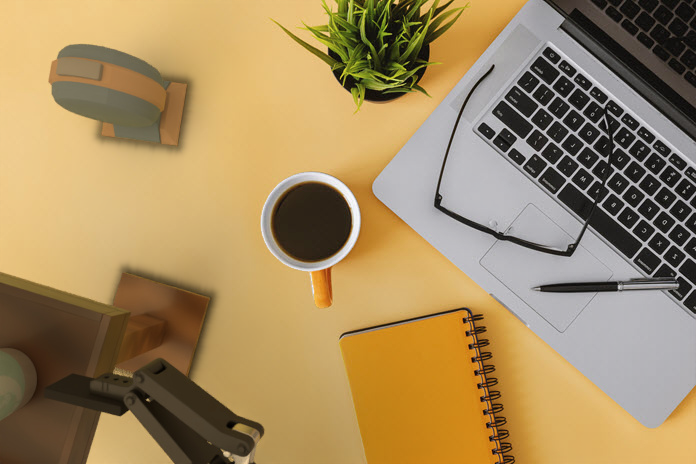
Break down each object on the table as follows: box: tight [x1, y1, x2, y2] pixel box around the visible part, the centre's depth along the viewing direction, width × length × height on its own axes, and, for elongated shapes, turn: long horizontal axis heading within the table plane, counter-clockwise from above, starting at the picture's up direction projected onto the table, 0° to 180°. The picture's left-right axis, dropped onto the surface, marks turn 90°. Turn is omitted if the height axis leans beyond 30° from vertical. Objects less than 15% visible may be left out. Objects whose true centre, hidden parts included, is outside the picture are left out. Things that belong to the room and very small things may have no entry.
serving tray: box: [0, 271, 131, 464], centre depth 44 cm, size 18×18×4 cm
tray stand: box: [112, 272, 211, 377], centre depth 60 cm, size 14×14×29 cm
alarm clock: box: [48, 43, 188, 147], centre depth 67 cm, size 14×10×18 cm
